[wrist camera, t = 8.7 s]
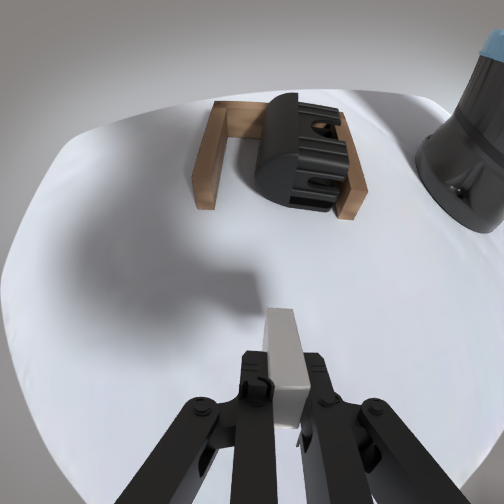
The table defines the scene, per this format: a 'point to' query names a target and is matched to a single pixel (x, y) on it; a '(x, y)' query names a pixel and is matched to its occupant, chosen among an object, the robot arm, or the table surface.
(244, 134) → the corral
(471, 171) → the robot arm
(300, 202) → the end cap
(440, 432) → the table surface
